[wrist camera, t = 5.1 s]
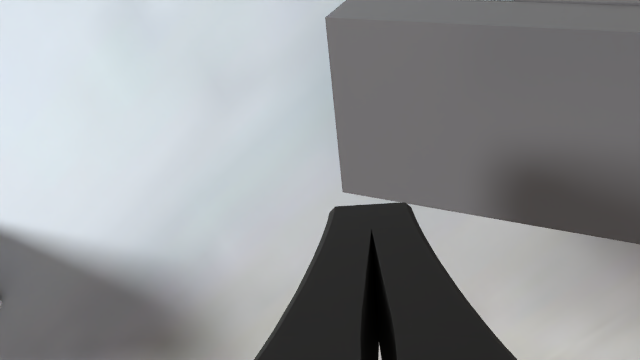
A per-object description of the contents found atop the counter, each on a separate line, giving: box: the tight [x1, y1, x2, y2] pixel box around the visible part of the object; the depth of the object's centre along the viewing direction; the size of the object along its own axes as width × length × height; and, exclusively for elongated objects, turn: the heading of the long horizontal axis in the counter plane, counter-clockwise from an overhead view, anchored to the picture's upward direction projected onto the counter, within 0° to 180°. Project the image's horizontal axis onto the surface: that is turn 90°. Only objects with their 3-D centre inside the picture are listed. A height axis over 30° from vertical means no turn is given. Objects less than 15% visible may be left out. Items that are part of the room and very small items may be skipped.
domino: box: [325, 0, 640, 244], centre depth 14 cm, size 2×5×10 cm
